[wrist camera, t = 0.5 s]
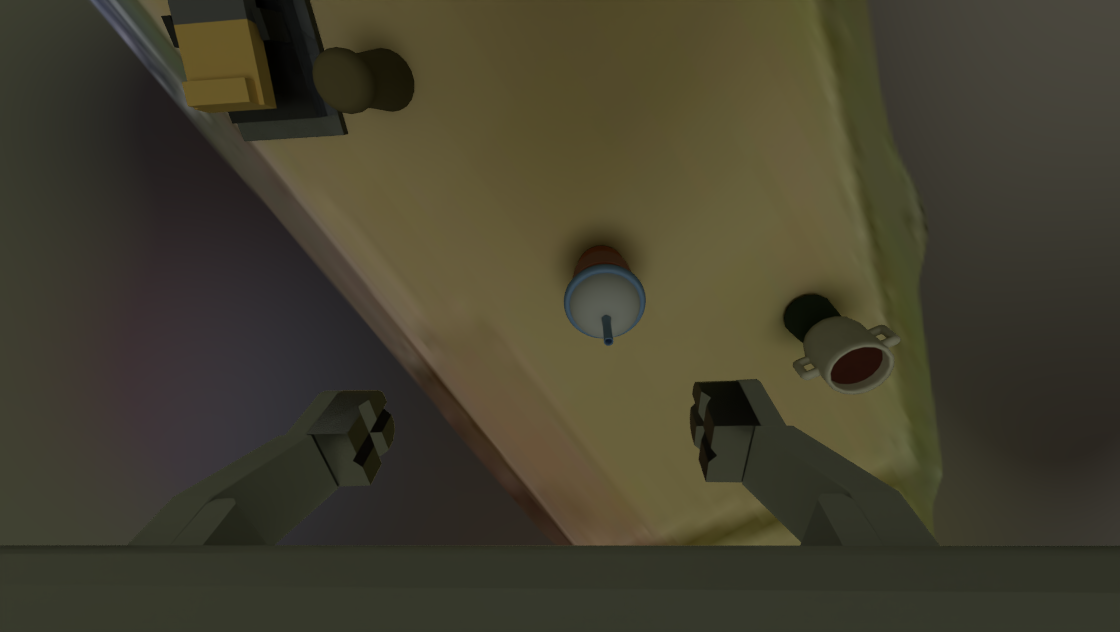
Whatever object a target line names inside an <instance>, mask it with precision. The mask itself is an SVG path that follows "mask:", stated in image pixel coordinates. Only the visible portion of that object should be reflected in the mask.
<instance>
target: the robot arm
mask: <svg viewBox="0 0 1120 632" xmlns="http://www.w3.org/2000/svg"><path fill="white" fill-rule="evenodd" d="M692 395H693V398H694V401H695V404H694V405H693V406H692V407H691V410H690V429H691V434H692V439H693V442H694V445H695V446H696V447H698V448H699V449H700V453H699V462H700V465H701V468H702V471H703V474H704V478H705V481H706V482H743V483H742V484H743V485H744V486H745V487H746V488H747V489H748V490H749V491H750V492H751V493H752V494H753V495H754V496H755V497H756V498H757V499H758V500H759V501H760V502H761V503H762V504H763V505H764V506H765V507H766V508H767V509H768V510H769V511H770V512H771V513H772V514H773V515H774V516H775V517H776V518H777V519H778V520H779V521H780V522H781V523H782V524H783V525H784V526H785V527H786V528H787V529H788V530H789V531H790V532H791V533H792V534H793V535H794V536H795V537H796V538H797V539H798V540H799V541H800V542H801V545H800V546H460V545H459V546H458V545H457V546H455V545H454V546H452V545H449V546H446V545H444V546H442V545H441V546H438V545H436V546H435V545H433V546H431V545H428V546H427V545H426V546H425V545H419V546H418V545H416V546H414V545H411V546H410V545H399V546H398V545H397V546H395V545H390V546H388V545H367V546H366V545H359V546H358V545H353V546H352V545H349V546H348V545H343V546H342V545H336V546H335V545H323V546H322V545H308V546H307V545H306V546H305V545H297V546H296V545H283V546H282V545H275V544H276V543H277V542H279V541H280V540H281V539H282V538H283V537H284V536H285V535H286V534H288V533H289V532H290V531H291V530H292V529H293V528H294V527H295V526H296V525H298V524H299V523H300V522H301V521H302V520H303V519H304V518H305V517H307V516H308V515H309V514H310V513H311V512H312V511H313V510H314V509H315V508H317V507H318V506H319V505H320V504H321V503H322V502H323V501H324V500H326V498H328V497H329V496H330V495H331V494H332V493H333V492H335V491H336V490H337V489H338V486H362V485H371V483H372V481H373V479H374V477H375V476H376V473H377V471H378V469H379V468H380V466H381V461H380V456H381V455H382V454H384V453H385V452H386V451H388V450H389V448H390V446H391V444H392V441H393V437H394V432H395V428H394V420H393V418H392V415H391V414H390V413H389V412H388V411H386V410H385V409H384V406H385V404H386V403H387V401H386V399H385V396H384V394H383V392H381V391H378V390H356V391H354V390H353V391H351V390H349V391H348V390H345V391H344V390H343V391H324V392H322V393H320V394H319V395H318V396H317V397H316V398H315V400H314V401H313V402H312V404H311V405H310V406H309V407H308V408H307V409H306V411H305V412H304V413H303V414H302V416H301V417H300V418H299V419H298V420H297V421H296V423H295V424H294V425H293V426H292V428H291V429H290V430H289V431H288V432H287V434H286V435H284V436H278V437H276V438H274V439H273V440H271V441H269V442H268V443H266V444H264V445H262V446H261V447H259V448H257V449H255V450H254V451H252V452H250V453H249V454H247V455H245V456H243V457H242V458H240V459H238V460H237V461H235V462H233V463H231V464H230V465H228V466H226V467H224V468H223V469H221V470H219V471H218V472H216V473H214V474H212V475H211V476H209V477H207V478H205V479H204V480H202V481H200V482H199V483H197V484H195V485H193V486H192V487H190V488H188V489H186V490H185V491H183V492H181V493H180V494H178V495H176V496H174V497H173V498H172V499H171V500H170V501H169V502H168V503H167V504H166V505H165V506H164V507H163V508H162V509H161V510H160V512H159V513H158V514H157V515H156V516H155V517H154V518H153V519H152V520H151V521H150V522H149V523H148V524H147V525H146V526H145V527H144V528H143V529H142V530H141V531H140V532H139V533H138V534H137V535H136V537H135V538H134V539H133V540H132V541H131V542H130V543H129V544H128V545H51V546H50V545H38V546H37V545H5V546H4V545H0V632H1120V546H940V545H939V544H938V542H937V541H936V540H935V538H934V537H933V536H932V535H931V533H930V532H929V531H928V529H927V528H926V527H925V525H924V524H923V523H922V521H921V520H920V519H919V517H918V516H917V515H916V513H915V512H914V511H913V509H912V508H911V507H910V506H909V504H908V503H907V502H906V500H905V499H904V498H903V496H902V495H901V494H900V492H899V491H897V490H895V489H894V488H892V487H891V486H889V485H887V484H886V483H884V482H883V481H881V480H879V479H878V478H876V477H875V476H873V475H871V474H870V473H868V472H866V471H865V470H863V469H862V468H860V467H858V466H857V465H855V464H854V463H852V462H850V461H849V460H847V459H846V458H844V457H842V456H841V455H839V454H838V453H836V452H834V451H833V450H831V449H829V448H828V447H826V446H825V445H823V444H821V443H820V442H818V441H817V440H815V439H813V438H812V437H810V436H809V435H807V434H805V433H804V432H802V431H801V430H799V429H797V428H796V427H794V426H786V424H785V422H784V421H783V419H782V417H781V416H780V414H779V412H778V411H777V409H776V407H775V406H774V404H773V402H772V401H771V399H770V397H769V396H768V394H767V392H766V390H765V389H764V387H763V385H762V384H761V382H760V381H759V380H757V379H747V380H736V381H706V382H695V383H694V386H693V392H692Z"/></svg>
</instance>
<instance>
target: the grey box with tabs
mask: <svg viewBox="0 0 1120 632" xmlns="http://www.w3.org/2000/svg"><path fill="white" fill-rule="evenodd" d="M255 3H256V8H251V11H252V13H253V16H254V19H255V22H256V25H257V28H258V31H259V34H260V37H261V39H262V40H263V42H264V47H265V52H266V57H267V62H268V67H269V72H270V77H271V82H272V87H273V92H274V97H275V102H276V107H277V108H274V109H259V110H245V111H230V112H228V113H229V116H230V118H231V121H232V123H237V124H238V127H239V129H240V132H241V134H242V137H243V139H244V141H256V140H272V139H287V138H303V137H319V136H335V135H346V134H348V132H347V128H346V125H345V121H344V118H343V114H342V112H340V111H338V110H336V109H334V108H332V107H330V106H329V105H328V104H327V103H326V102H325V101H324V100H323V99H322V97H321V96H320V95H319V93H318V92H317V89H316V87H315V84H314V81H313V73H312V71H313V65H314V62H315V60H316V58H317V56H318V55H319V54H320V53H322V52H323V51H324V48H323V45H322V41H321V38H320V35H319V31H318V28H317V24H316V21H315V17H314V14H313V10H312V7H311V3H310V0H255ZM161 17H162V19H163V22H164V24H165V26H166V29H167V31H168V33H169V35H170V38H171V40H172V42H173V45H174V47H176V48H179V44H178V40H177V36H176V32H175V28H174V24H173V20H172V16H170V15H168V16H161Z"/></svg>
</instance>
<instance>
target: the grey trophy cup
mask: <svg viewBox="0 0 1120 632" xmlns="http://www.w3.org/2000/svg"><path fill="white" fill-rule="evenodd" d="M784 321H785V327H786V328H787V329H788V330H789V331H790V332H791V333H792V334H793V335H794V336H795V337H796V338H797V339H799V340H800V341H801V342H802V343H803V347H804V352H805V357H803V358H800V359H798V360H796V361H795V362H793V367H794V369H795V370H796V371H797V373H798V374H799V376H800V377H801V378H803V379H804V380H810V379H812V378H815V377H817V376H820V375H821V376H822V377H823V379H824V380H825V381H826V382H827V383H828V385H829V386H830V387H831V388H832V389H833V390H835V391H838V392H840V393H843V394H860V393H864V392H868V391H870V390H872V389H874V388H876V387H877V386H879V385H880V384H882V383H883V382H884V381H885V380H886V379H887V378H888V377H889V376H890V373H891V371H892V369H893V367H894V356H893V354H892V353H891V351H890V350H889V349H888V347H891V346H893V345H896V344H897V343H899V342H900V340H901V339H900V337H899V336H898V335H896V334H895V333H894V332H893V331H892V330H890V329H889V328H888V327H887V326H885V325H879V326H876V327H874V328H871V329H869V330H867V329H866V328H865V327H864V326H863V325H862V324H861V323H859V322H857V321H855V320H852V319H850V318H848V317H841V315H840V314H839V313H838V311H837V310H836V309H835V308H834V306H833V305H832V304H831V303H830V302H829V300H828V299H827V298H824V297H821V296H819V295H808V296H804V297H802V298H800V299H797V300H795V301H794V302H793V303H792V304H791V306H790V307H789V308H788V309H787V312H786V314H785V317H784ZM880 334H883V335H884V336H885V337H886V339H884V340H881V341H880V340H879V339H878V338H876V337H875V336H877V335H880ZM810 363H811V364H812V365H813V366H814V367H815V368H813V369H811V370H808V371H806V369H805V368H804V367H803V366H805V365H808V364H810Z"/></svg>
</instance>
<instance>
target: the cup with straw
mask: <svg viewBox="0 0 1120 632" xmlns="http://www.w3.org/2000/svg"><path fill="white" fill-rule="evenodd" d="M645 303H646V297H645V292H644V289H643V286H642V284H641V282H640V281H639V279H638V278H637V277H636V276H635V275H634V274H633V273H632V272H631V271H630V269H629V267H628V265H627V263H626V262H625V260H624V259H623V258H622V257H621V255H620V254H619V253H618V252H617V251H616V250H614V249H613V248H610V247H607V246H596V247H593V248H590V249H589V250H587V251H586V252H585V253H584V254H583V255H582V256H581V258H580V260H579V262H578V265H577V266H576V268H575V271H574V275H573V279H572V280H571V282H570V283H569V285H568V287H567V289H566V292H565V296H564V308H565V312H566V315H567V317H568V319H569V321H570V322H571V323H572V325H573V326H574V327H575V328H576V329H578V330H579V331H580V332H582V333H584V334H586V335H588V336H591V337H595V338H604V343H605V345H608V346H609V345H612V344H613V337H617V336H620V335H622V334H624V333H626V332H628V331H629V330H631V329H632V328H633V327H634V326H635V325H636V324H637V323H638V321H639V320H640V318H641V317H642V315H643V312H644V309H645Z"/></svg>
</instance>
